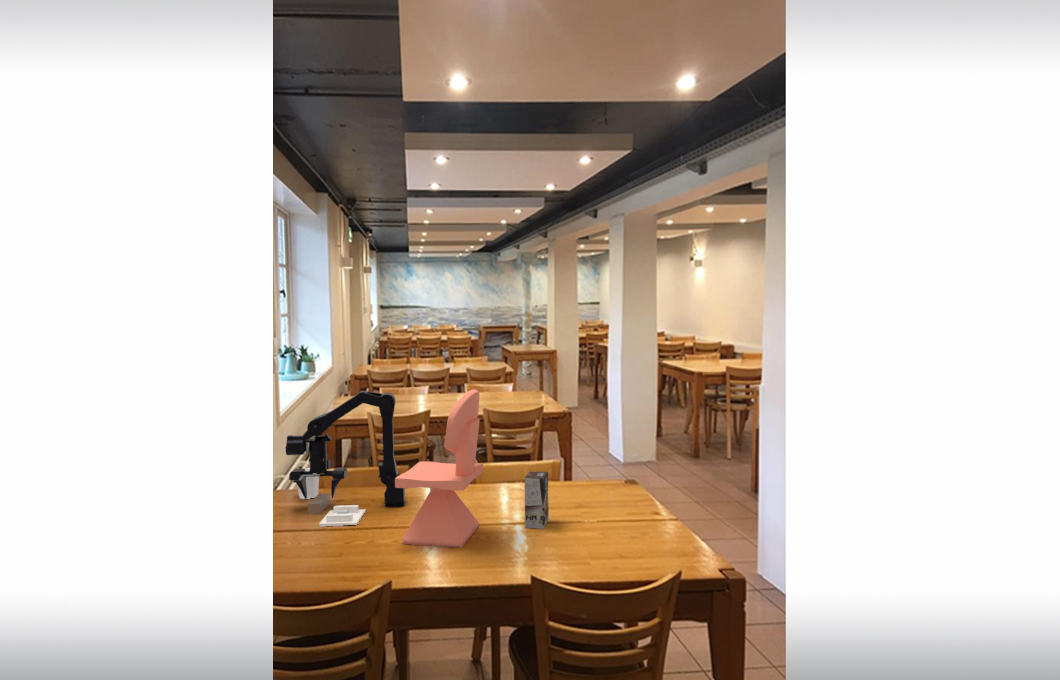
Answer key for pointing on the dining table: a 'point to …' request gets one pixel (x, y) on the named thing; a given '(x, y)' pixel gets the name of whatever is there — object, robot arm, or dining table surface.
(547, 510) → the coffee box
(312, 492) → the white cup
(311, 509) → the gray cuboid brick
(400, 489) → the robot arm
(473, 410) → the chair
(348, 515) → the display rest
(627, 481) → the dining table surface
